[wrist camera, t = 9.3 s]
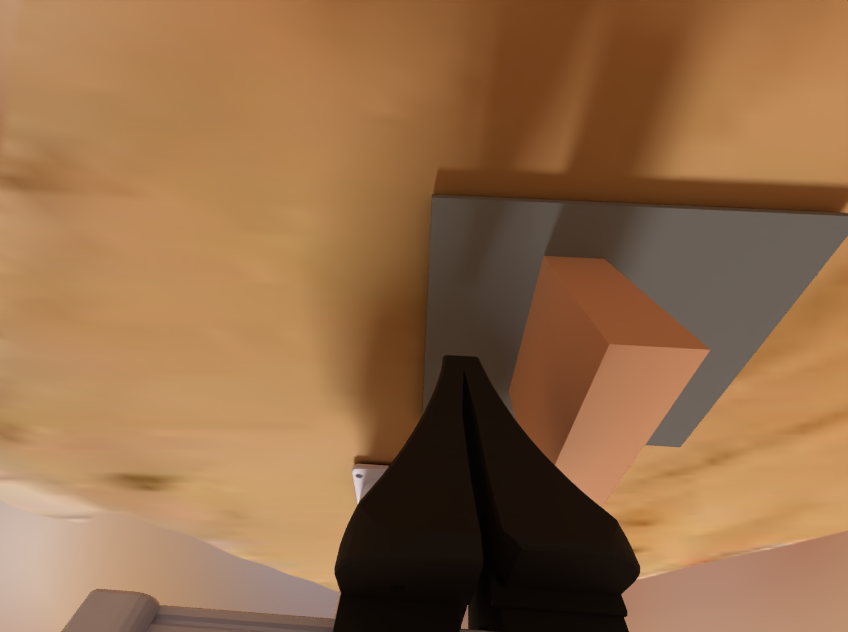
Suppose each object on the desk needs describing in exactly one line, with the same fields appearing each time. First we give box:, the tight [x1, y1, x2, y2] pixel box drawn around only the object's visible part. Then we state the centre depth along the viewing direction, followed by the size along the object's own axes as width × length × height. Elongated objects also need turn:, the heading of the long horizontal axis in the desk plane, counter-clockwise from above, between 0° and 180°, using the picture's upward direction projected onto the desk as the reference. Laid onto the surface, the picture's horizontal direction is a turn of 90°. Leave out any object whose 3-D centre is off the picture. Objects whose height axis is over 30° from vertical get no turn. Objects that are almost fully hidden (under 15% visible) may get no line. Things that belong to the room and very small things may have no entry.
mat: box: [422, 194, 848, 447], centre depth 16 cm, size 14×16×1 cm
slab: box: [509, 256, 710, 507], centre depth 12 cm, size 8×2×6 cm, turn 178°
